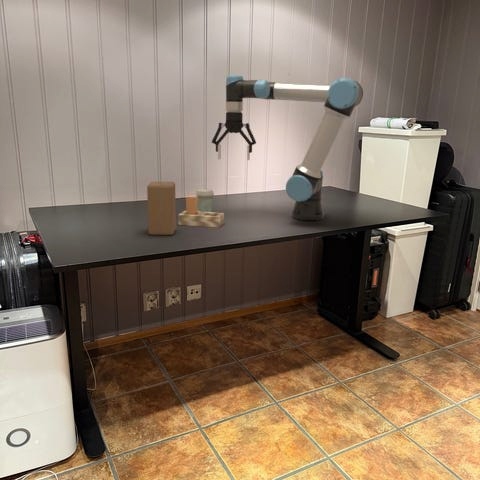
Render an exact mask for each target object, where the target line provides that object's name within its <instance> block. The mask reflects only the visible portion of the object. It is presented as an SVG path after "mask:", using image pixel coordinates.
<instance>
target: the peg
mask: <svg viewBox="0 0 480 480" xmlns="http://www.w3.org/2000/svg"><path fill="white" fill-rule="evenodd" d="M185 202H186V203H185V204H186V208H185V209H186V210H185V211H186V214H189V215H197V214H198V196H196V195H188V196H186V197H185Z"/></svg>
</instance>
